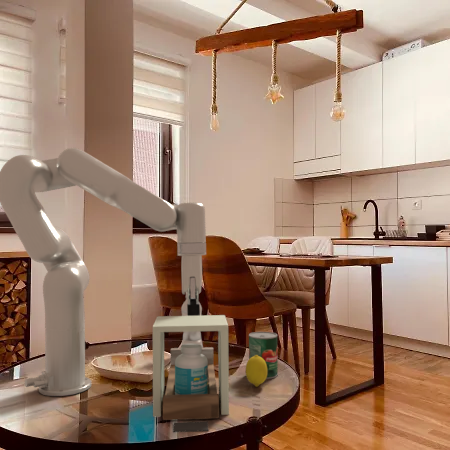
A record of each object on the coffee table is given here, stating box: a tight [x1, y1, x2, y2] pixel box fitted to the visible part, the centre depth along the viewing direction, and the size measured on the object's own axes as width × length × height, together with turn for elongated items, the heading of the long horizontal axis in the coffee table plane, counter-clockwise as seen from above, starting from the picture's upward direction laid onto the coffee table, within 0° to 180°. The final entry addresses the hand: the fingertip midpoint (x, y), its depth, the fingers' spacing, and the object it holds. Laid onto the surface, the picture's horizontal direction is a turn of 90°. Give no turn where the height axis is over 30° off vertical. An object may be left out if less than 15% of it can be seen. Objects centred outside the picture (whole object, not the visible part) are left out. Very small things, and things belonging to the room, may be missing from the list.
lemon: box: [245, 355, 267, 388], centre depth 119 cm, size 6×6×8 cm
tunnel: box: [152, 314, 230, 418], centre depth 106 cm, size 12×16×19 cm
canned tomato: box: [248, 331, 279, 380], centre depth 128 cm, size 8×8×11 cm
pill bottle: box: [175, 344, 208, 395], centre depth 106 cm, size 8×7×14 cm
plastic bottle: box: [180, 291, 204, 348], centre depth 150 cm, size 6×7×20 cm
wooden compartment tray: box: [162, 346, 220, 421], centre depth 113 cm, size 32×12×7 cm, turn 4°
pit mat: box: [172, 420, 209, 433], centre depth 94 cm, size 4×7×1 cm, turn 94°
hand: (193, 319), depth 123 cm, fingers closed
